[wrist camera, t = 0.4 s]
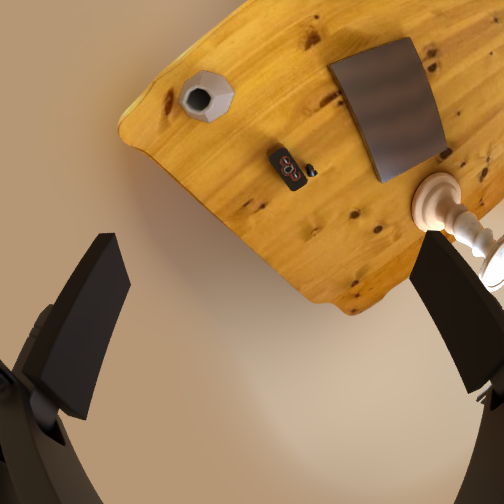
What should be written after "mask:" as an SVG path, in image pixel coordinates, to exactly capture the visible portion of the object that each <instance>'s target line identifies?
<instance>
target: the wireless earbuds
mask: <svg viewBox="0 0 504 504" xmlns="http://www.w3.org/2000/svg"><path fill="white" fill-rule="evenodd" d="M266 155H267V157H268V159H269V161H270V162H271V164H272V165H273V166H274V168H275V169H276V170H277V172H278V173H279V175H280V176H281V177H282V179H283V180H284V181H285V183H286V184H287V186H288V187H289V188H290V190H291V191H296V190H298V189H299V188H301V187H303V186H304V185H306V184H307V181H308V180H307V178H306V176H305V175H304V173H303V172H302V170H301V169H300V168H299V166H298V165H297V163H296V162H295V160H294V159H293V157H292V156H291V154H290V153H289V152H288V150H287V149H286V148H285V146H284V145H283V144H281V143H278V144H276V145H275V146H273V147H272V148H270V149H269V150H268V151H267V152H266ZM305 169H306V173H307V176H309V177H313V176H316V175H317V174H318V173H317V171H316V170H314V168H313V166H312V165H311V164H306V166H305Z"/></svg>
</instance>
